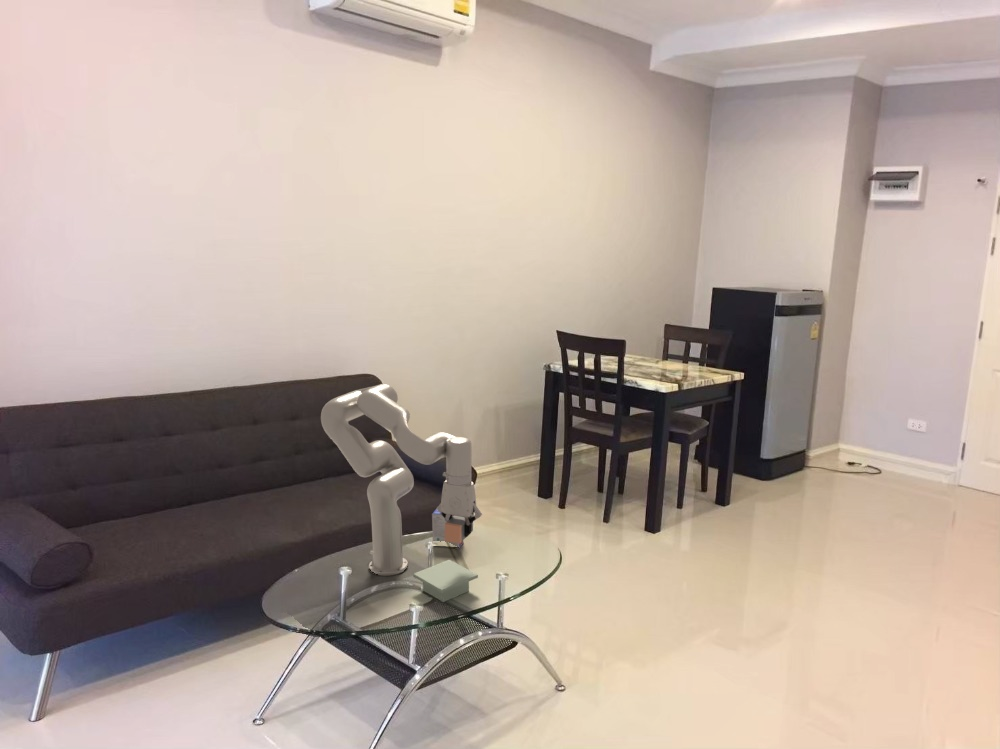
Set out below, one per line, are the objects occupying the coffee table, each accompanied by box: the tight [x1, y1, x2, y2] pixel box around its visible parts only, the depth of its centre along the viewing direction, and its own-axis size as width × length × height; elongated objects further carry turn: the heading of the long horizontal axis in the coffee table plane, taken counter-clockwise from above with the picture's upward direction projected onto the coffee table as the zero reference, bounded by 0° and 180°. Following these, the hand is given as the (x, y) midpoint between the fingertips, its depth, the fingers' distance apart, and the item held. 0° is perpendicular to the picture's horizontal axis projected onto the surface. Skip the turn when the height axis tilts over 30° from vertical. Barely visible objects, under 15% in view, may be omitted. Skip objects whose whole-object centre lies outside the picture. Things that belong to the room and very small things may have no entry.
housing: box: [445, 513, 474, 544], centre depth 247 cm, size 10×5×6 cm, turn 159°
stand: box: [413, 559, 479, 603], centre depth 246 cm, size 14×14×6 cm
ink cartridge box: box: [431, 508, 464, 549], centre depth 277 cm, size 10×6×14 cm, turn 78°
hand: (459, 533), depth 247 cm, fingers closed on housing, 5 cm apart
